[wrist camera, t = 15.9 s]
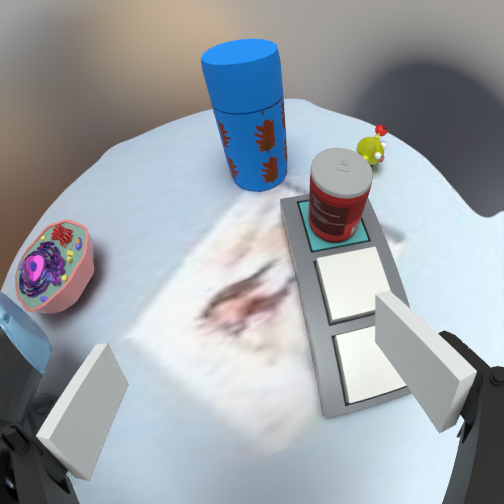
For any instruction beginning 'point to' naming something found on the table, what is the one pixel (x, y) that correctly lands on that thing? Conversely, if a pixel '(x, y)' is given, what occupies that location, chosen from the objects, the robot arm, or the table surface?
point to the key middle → (350, 284)
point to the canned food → (338, 193)
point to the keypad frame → (315, 309)
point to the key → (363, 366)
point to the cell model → (55, 268)
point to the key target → (320, 244)
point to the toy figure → (373, 146)
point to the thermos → (249, 110)
